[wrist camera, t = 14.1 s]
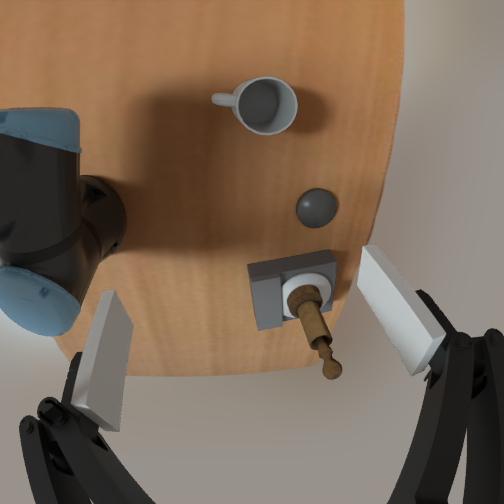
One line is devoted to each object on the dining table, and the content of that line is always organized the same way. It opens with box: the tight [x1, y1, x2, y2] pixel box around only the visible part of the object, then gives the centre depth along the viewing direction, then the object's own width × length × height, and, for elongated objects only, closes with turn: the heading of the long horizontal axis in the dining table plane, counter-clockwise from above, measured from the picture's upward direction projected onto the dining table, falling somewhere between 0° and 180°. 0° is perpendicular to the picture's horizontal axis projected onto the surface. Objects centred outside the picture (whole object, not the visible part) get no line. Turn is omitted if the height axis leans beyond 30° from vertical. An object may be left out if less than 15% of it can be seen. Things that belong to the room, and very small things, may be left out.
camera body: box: [247, 250, 337, 331], centre depth 54 cm, size 16×13×5 cm
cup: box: [211, 77, 298, 135], centre depth 32 cm, size 7×10×9 cm
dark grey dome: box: [296, 188, 336, 228], centre depth 47 cm, size 7×7×1 cm
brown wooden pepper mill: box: [287, 285, 342, 380], centre depth 44 cm, size 7×6×18 cm
